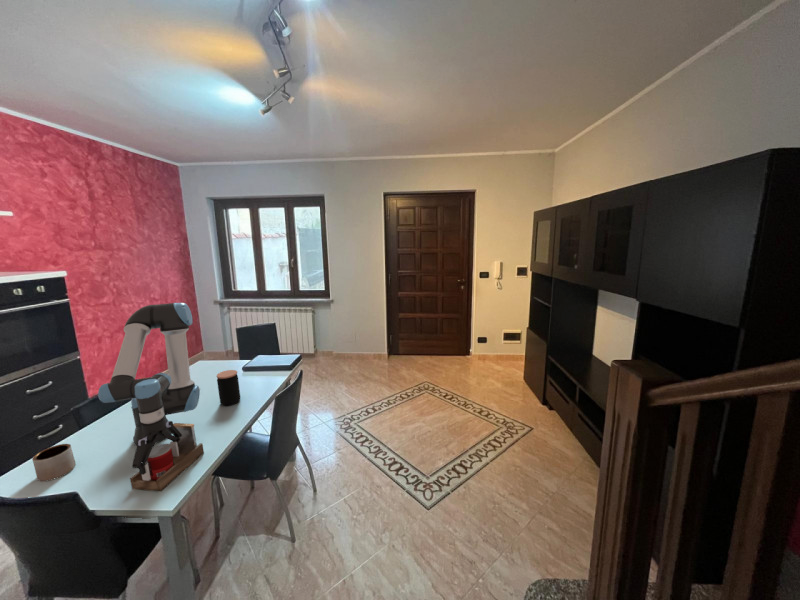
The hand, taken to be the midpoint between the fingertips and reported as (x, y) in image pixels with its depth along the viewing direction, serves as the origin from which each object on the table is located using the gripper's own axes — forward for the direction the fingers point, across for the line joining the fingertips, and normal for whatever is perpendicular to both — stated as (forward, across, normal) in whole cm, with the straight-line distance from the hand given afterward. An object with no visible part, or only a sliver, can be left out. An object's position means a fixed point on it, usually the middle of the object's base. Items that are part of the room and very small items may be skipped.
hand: (162, 467), depth 125 cm
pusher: (+3, +13, 0) cm, 13 cm away
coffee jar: (+4, +58, +12) cm, 60 cm away
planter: (+4, -2, +47) cm, 47 cm away
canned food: (+3, 0, 0) cm, 3 cm away
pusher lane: (+4, +4, 0) cm, 5 cm away
